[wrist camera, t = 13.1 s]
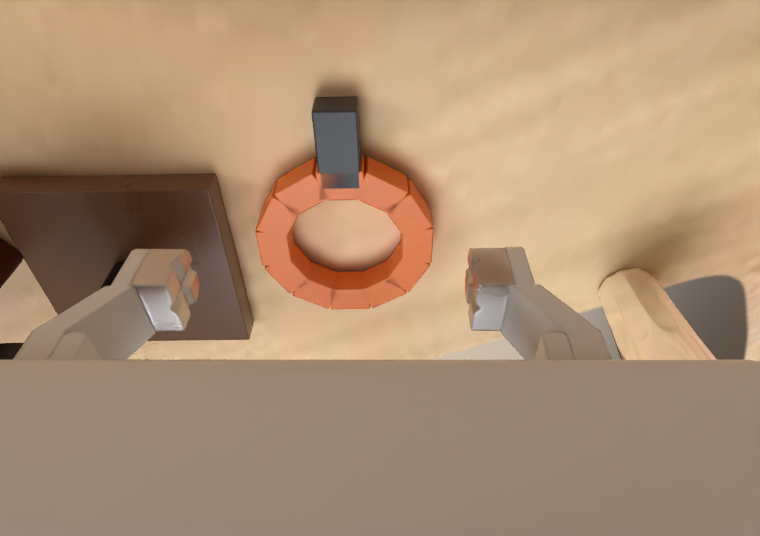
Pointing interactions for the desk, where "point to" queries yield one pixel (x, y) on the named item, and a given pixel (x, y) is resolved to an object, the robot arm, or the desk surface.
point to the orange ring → (344, 182)
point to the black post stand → (127, 241)
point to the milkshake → (647, 320)
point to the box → (8, 261)
